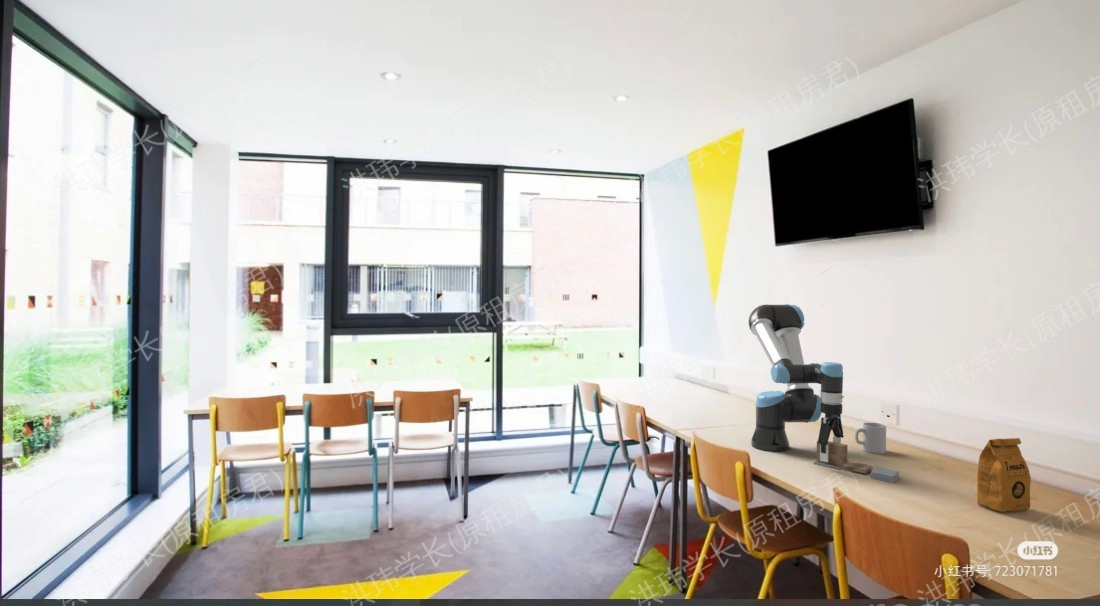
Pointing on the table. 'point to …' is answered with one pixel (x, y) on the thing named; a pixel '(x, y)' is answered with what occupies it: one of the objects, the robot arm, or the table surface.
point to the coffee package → (1003, 477)
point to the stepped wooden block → (842, 458)
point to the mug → (873, 438)
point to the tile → (885, 474)
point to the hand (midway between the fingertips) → (830, 457)
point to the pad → (831, 466)
